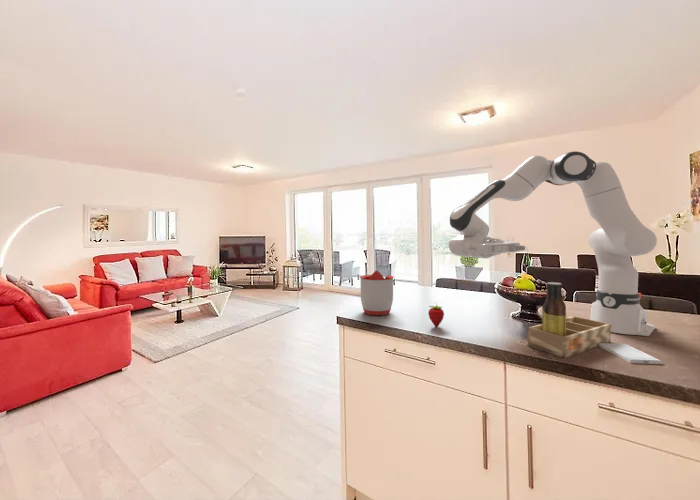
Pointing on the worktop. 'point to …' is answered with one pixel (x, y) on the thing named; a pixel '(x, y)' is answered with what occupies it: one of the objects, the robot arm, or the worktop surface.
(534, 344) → the condiment caddy
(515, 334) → the worktop surface
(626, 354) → the hard drive
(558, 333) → the sauce bottle
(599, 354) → the worktop surface
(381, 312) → the citrus juicer
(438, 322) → the strawberry
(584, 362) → the worktop surface
